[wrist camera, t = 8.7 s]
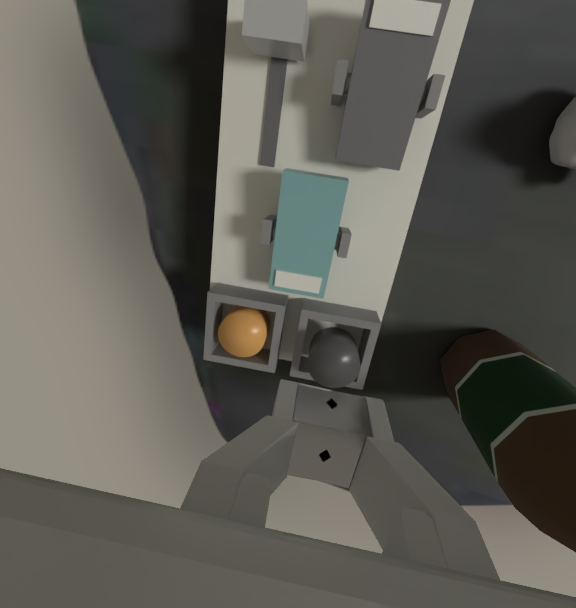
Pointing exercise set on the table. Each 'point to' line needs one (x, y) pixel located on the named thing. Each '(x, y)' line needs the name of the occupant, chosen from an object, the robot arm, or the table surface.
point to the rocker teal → (306, 231)
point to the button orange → (244, 331)
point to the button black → (333, 358)
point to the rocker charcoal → (388, 79)
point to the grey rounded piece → (564, 138)
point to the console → (319, 159)
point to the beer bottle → (519, 425)
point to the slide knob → (276, 28)
